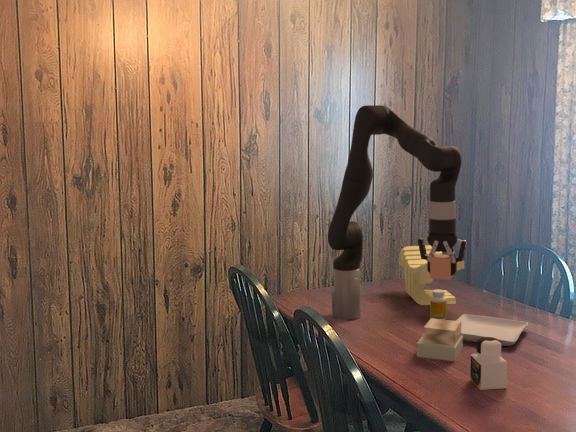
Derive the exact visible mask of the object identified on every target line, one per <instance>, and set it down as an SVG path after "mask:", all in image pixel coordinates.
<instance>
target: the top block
mask: <svg viewBox="0 0 576 432" xmlns="http://www.w3.org/2000/svg"><path fill="white" fill-rule="evenodd" d="M423 335H424V342H425V343H433V344H442V345H450V346H455V345H456V344H457V342H458V341H459V339H460V337H461V321H456V320H450V319H445V320H442V319H432V318H430V319H429V320H428V321H427V322H426V324H425V325H424V326H423Z"/></svg>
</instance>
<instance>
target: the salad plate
mask: <svg viewBox="0 0 576 432" xmlns="http://www.w3.org/2000/svg"><path fill="white" fill-rule="evenodd" d="M455 321H461V336H463V341H465V342H466V341H467V342H474V343H477V340H478V339H480V338H483V337H493V338H496V339H498V340H500V341H501V347H509V346H513V345H515V344H516V342H517V341H518V339H519V337H520V335H521V333H522V332H523V331H524V330H525V329H527V327H528V325H529V322H528V321H522V320H516V319H515V320H514V319H509V318H503V317H502V318H501V317H495V316H488V315H487V316H486V315H477V314H470V313H469V314H468V313H463V314H462V315H460V316H459V318H457V319H456V320H455Z"/></svg>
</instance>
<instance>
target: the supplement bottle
mask: <svg viewBox="0 0 576 432" xmlns="http://www.w3.org/2000/svg"><path fill="white" fill-rule="evenodd" d="M432 290H433V291H432V295H433V296H432V297H431V298H430V305H429V309H430V310H429V311H430V312H429V314H430V315H429V316H430V317H429V318H430V319H431V318H432V319H442V320H447V305H448V304H447V300H446V297H444V290H445V289H439V288H437V289H432Z"/></svg>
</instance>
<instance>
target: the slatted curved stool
mask: <svg viewBox="0 0 576 432" xmlns="http://www.w3.org/2000/svg"><path fill="white" fill-rule="evenodd" d="M425 248H426V253H427V255H429V253H430V251H431V248H432V247H431V245H430V244H428V245H427V244H426V245H425ZM435 254H441V255H443V252H442V251H440V252H436V253H435ZM398 259H399V260H398V265H399V266H401V267H402V270H403V271H404V284H405V292H406V293H407V295H408V296H409V297H410V298H412V300H413V301H414V302H416V303H417V304H418V305H421V306H430V298H431V297H432V296H433V295H432V291H433V290H434V289H425V286H426V284H427V285H429V284H432V283H433V281H434V279H431V278H430V273H429V272H428V271H427V260H425V259H422V258H421V255H420V250H419V245H411V246H410V245H408V246H404V247H403V248H401V250H400V252H399V254H398ZM464 269H465V260H462V261H461V262H460V261H459V262H457V271H460V270H464ZM443 290H444V297H446V300H447V305H451V304H453V305H455V304H457V300H456V297H455V296H454V295H452V294H451V293H450V292H449V291H448V290H446V289H443Z"/></svg>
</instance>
